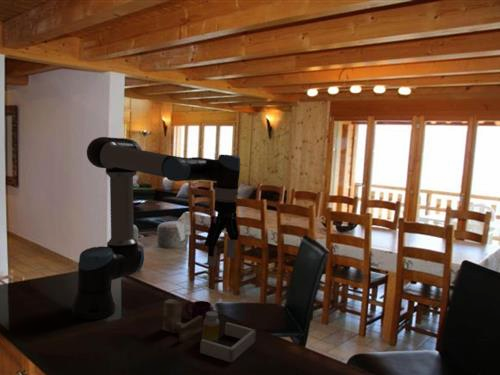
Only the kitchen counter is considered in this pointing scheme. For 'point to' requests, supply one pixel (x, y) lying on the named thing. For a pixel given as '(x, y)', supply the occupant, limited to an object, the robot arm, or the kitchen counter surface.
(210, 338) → the supplement bottle
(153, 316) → the kitchen counter surface
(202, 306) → the mug
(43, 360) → the kitchen counter surface
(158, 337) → the kitchen counter surface
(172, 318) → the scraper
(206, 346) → the corral
